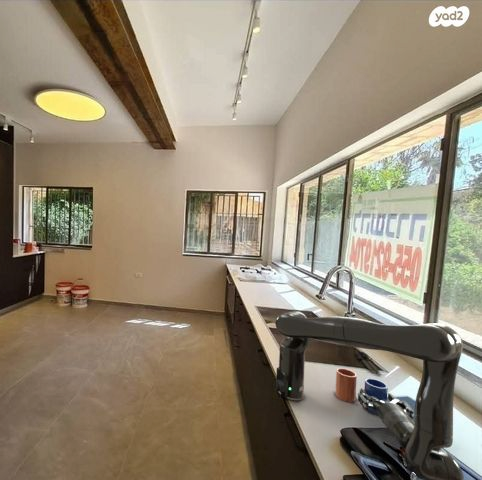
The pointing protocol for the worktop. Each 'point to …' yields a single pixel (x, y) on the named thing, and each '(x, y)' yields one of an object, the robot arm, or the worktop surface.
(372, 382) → the blue cup
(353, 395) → the terracotta cup
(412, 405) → the blue mat
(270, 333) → the worktop surface
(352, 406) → the worktop surface
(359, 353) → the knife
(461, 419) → the worktop surface
